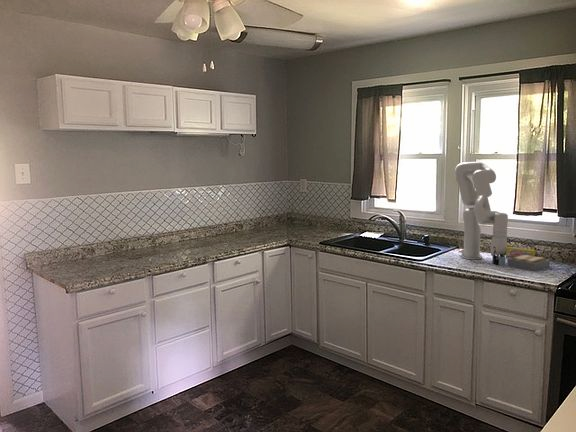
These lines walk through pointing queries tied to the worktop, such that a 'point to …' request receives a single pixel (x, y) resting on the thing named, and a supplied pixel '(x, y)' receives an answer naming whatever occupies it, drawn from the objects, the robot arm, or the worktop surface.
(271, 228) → the worktop surface
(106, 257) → the worktop surface
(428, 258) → the worktop surface
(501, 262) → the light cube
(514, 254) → the candy box
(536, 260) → the maple block
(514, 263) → the tote
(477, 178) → the robot arm
